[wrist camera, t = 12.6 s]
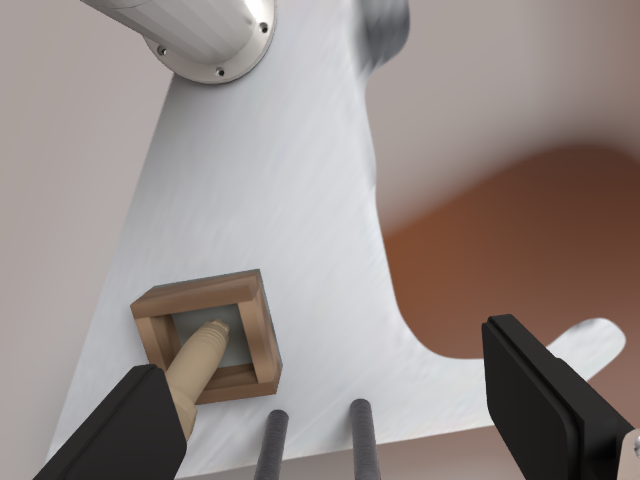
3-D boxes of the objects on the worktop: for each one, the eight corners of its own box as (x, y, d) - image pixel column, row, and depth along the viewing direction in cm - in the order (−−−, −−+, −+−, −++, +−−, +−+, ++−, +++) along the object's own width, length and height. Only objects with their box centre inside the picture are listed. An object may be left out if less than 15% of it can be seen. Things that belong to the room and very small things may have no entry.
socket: (154, 286, 41) (129, 305, 36) (259, 268, 40) (249, 286, 35) (183, 379, 44) (165, 409, 39) (282, 365, 43) (275, 393, 38)
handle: (183, 336, 41) (100, 441, 27) (216, 296, 40) (147, 383, 25) (218, 362, 42) (155, 478, 27) (252, 323, 40) (205, 423, 26)
